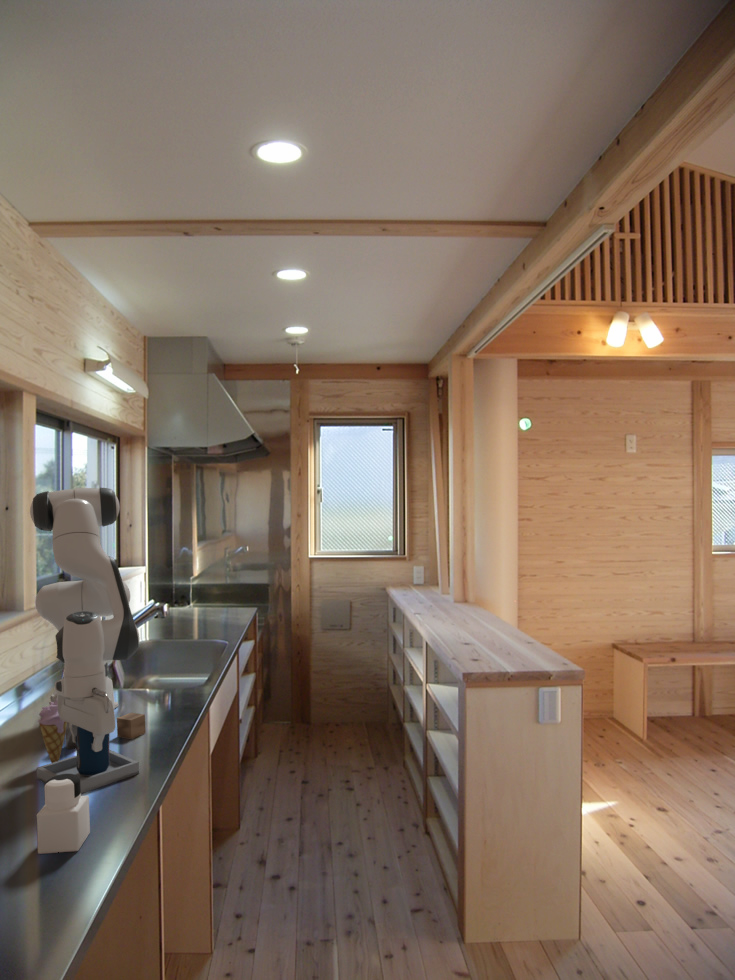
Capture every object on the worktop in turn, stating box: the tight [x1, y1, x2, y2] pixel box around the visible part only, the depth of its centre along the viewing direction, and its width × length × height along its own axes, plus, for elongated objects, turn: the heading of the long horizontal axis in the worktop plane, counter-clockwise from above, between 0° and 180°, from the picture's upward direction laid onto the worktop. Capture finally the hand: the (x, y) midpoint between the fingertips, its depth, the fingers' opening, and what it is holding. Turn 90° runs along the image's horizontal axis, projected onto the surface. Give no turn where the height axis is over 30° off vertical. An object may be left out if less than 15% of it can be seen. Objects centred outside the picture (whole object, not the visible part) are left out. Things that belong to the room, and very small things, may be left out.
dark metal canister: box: [65, 722, 77, 750], centre depth 183 cm, size 5×5×9 cm
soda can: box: [76, 727, 110, 776], centre depth 163 cm, size 7×7×12 cm
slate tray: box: [36, 749, 140, 795], centre depth 162 cm, size 16×16×3 cm
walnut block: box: [116, 712, 146, 740], centre depth 190 cm, size 5×5×5 cm
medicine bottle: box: [35, 774, 91, 855], centre depth 131 cm, size 7×7×12 cm
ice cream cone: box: [38, 699, 67, 763], centre depth 171 cm, size 7×6×15 cm
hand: (87, 746), depth 162 cm, fingers open, 8 cm apart
